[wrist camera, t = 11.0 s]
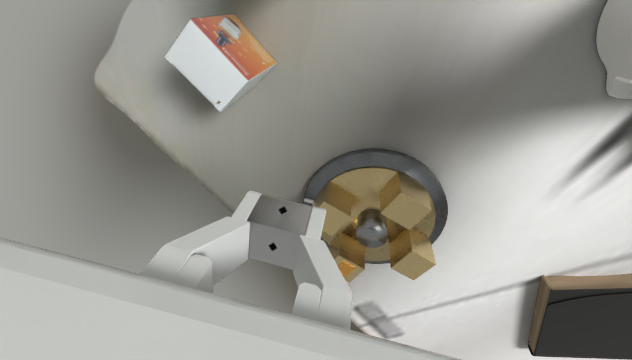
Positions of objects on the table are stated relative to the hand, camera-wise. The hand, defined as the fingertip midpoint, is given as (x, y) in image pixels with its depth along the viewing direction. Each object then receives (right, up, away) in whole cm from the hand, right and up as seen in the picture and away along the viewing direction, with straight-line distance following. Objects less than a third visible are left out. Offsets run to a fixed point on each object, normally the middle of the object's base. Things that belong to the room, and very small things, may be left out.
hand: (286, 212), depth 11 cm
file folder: (+61, -23, +41) cm, 77 cm away
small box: (-9, +19, +28) cm, 34 cm away
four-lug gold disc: (+11, -5, +37) cm, 39 cm away
